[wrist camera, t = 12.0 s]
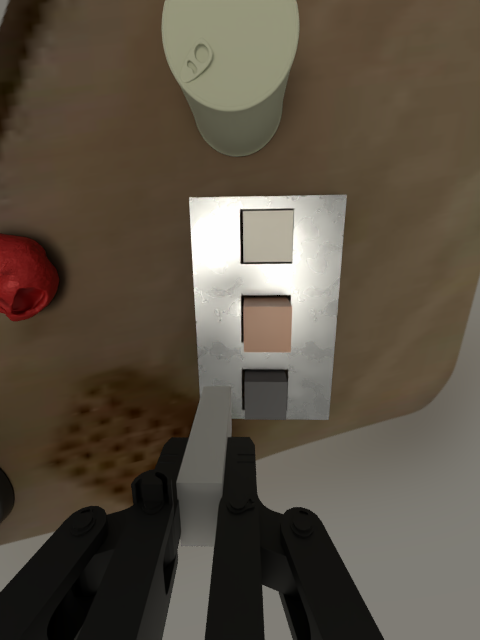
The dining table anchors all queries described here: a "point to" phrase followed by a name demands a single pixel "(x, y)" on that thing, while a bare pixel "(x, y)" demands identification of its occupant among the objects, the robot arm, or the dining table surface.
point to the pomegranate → (25, 277)
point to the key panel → (268, 279)
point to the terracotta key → (267, 324)
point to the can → (232, 66)
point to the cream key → (267, 236)
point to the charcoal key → (265, 394)
